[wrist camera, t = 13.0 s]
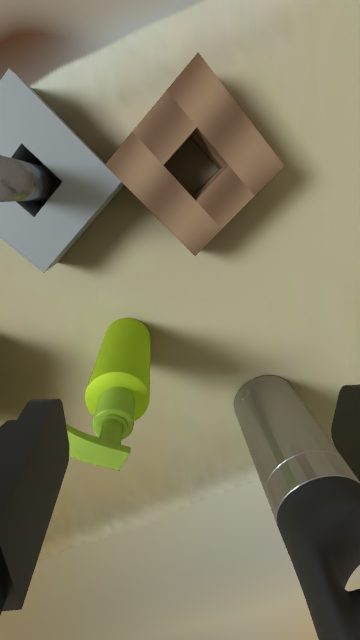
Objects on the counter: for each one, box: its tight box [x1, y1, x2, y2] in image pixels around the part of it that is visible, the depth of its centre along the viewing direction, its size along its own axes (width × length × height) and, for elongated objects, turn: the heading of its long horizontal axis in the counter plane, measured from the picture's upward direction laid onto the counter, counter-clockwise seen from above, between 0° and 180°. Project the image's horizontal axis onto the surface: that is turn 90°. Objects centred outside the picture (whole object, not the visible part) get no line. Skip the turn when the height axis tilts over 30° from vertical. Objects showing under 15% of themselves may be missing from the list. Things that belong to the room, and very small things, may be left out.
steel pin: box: [0, 155, 62, 202], centre depth 28 cm, size 3×3×12 cm
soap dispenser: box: [66, 318, 151, 471], centre depth 31 cm, size 6×7×20 cm
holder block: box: [105, 53, 284, 256], centre depth 31 cm, size 12×12×5 cm
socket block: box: [0, 69, 124, 273], centre depth 31 cm, size 12×12×5 cm
